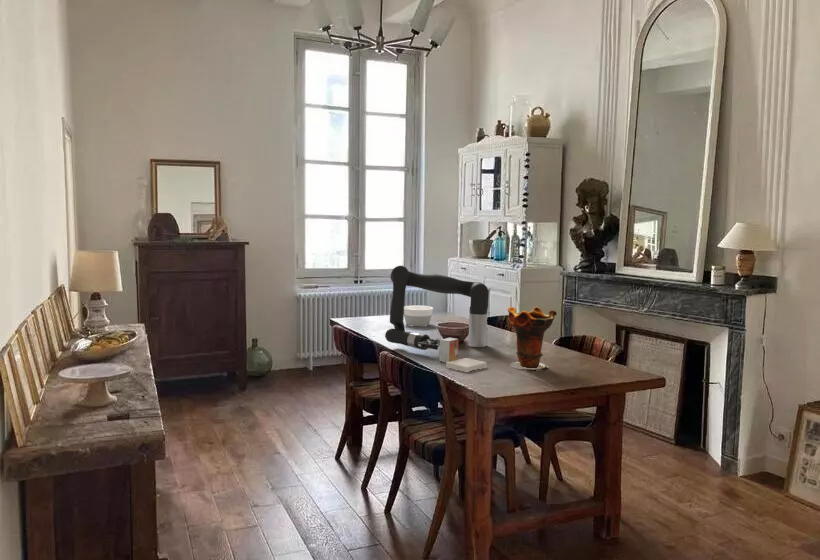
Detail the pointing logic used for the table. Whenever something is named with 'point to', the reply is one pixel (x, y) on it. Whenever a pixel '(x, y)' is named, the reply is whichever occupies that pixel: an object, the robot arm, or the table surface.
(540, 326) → the decorative vase
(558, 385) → the table surface
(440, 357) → the small box
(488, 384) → the table surface
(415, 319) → the bowl
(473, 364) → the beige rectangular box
